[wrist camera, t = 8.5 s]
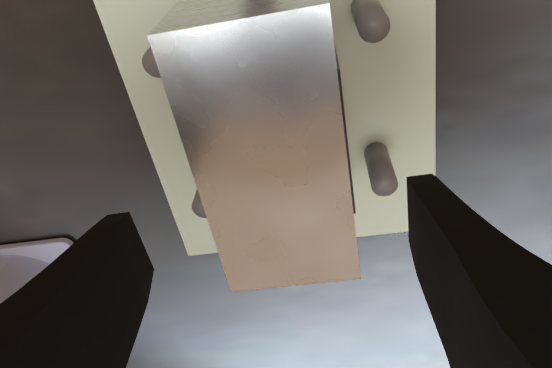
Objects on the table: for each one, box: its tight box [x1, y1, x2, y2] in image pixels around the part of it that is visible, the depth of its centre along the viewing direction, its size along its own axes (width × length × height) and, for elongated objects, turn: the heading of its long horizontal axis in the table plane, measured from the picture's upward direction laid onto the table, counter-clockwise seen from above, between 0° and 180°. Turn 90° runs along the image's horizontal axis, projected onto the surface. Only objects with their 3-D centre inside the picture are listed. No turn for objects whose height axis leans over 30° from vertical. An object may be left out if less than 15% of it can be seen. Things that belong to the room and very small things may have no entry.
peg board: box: [93, 0, 436, 256], centre depth 18 cm, size 15×12×4 cm
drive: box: [147, 0, 361, 292], centre depth 16 cm, size 9×5×6 cm, turn 10°
